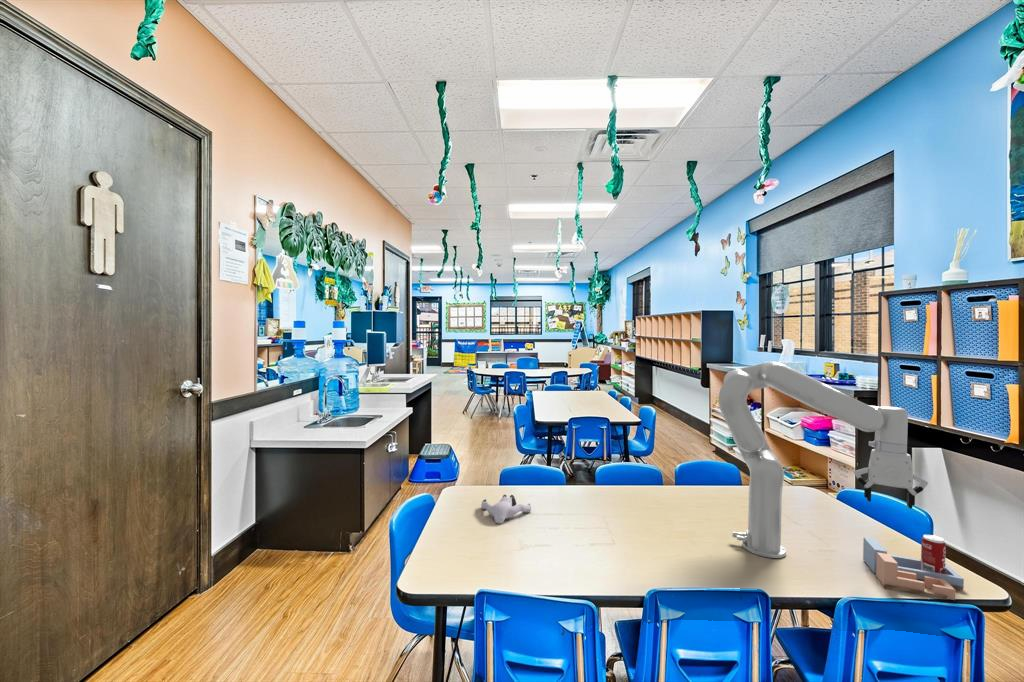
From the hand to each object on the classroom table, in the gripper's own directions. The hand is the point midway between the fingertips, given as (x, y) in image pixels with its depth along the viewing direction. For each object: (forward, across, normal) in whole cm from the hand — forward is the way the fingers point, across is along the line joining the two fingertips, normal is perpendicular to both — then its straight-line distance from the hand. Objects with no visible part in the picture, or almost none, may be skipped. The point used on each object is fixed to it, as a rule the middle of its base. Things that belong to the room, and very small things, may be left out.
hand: (888, 503), depth 136 cm
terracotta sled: (+20, +1, -9) cm, 22 cm away
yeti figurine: (+22, -120, -30) cm, 125 cm away
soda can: (+20, +11, +2) cm, 23 cm away
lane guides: (+20, +6, -3) cm, 21 cm away
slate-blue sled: (+20, +6, +1) cm, 21 cm away
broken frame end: (+20, +10, -8) cm, 24 cm away
